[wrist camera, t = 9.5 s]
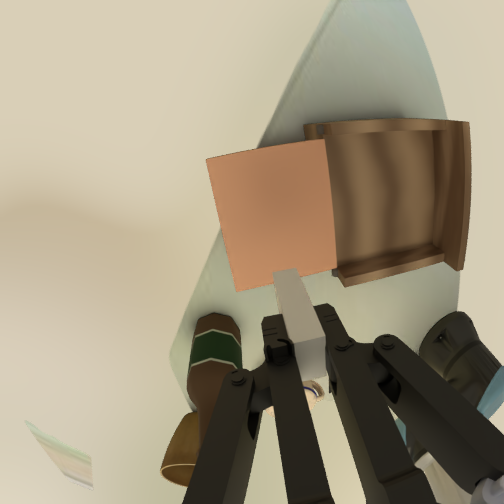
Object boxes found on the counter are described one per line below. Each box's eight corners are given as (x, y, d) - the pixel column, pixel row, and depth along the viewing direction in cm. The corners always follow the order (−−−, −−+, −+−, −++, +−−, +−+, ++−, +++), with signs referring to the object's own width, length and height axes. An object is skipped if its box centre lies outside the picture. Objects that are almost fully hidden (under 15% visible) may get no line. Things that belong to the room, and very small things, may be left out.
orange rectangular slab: (324, 139, 27) (205, 159, 26) (336, 267, 33) (236, 291, 32) (318, 138, 29) (206, 158, 28) (331, 261, 35) (235, 284, 34)
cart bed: (404, 118, 34) (469, 121, 22) (410, 230, 42) (463, 269, 29) (298, 125, 35) (335, 123, 22) (315, 250, 42) (348, 302, 29)
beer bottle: (238, 309, 45) (246, 445, 23) (241, 345, 48) (250, 471, 26) (189, 312, 45) (168, 445, 23) (197, 348, 48) (186, 472, 26)
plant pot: (235, 433, 61) (238, 488, 46) (177, 434, 60) (171, 487, 45) (227, 400, 55) (229, 465, 40) (160, 401, 54) (149, 462, 39)
